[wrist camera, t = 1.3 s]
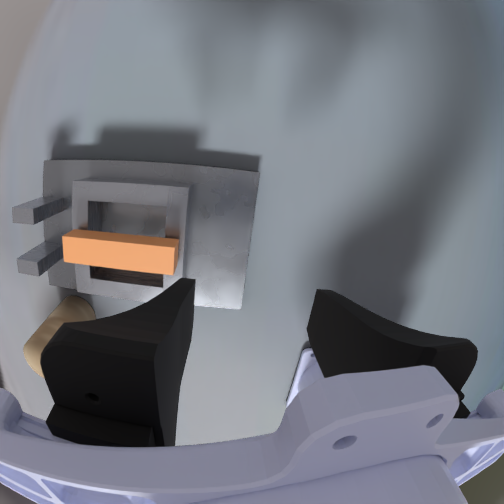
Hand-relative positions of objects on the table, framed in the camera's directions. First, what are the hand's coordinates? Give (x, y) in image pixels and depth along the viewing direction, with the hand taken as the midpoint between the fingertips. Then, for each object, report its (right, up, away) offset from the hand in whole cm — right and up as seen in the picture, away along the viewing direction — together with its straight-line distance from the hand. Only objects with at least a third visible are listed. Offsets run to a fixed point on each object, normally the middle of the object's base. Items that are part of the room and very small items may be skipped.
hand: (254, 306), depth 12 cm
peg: (-15, -3, +10) cm, 18 cm away
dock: (-8, +4, +8) cm, 12 cm away
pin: (-8, +3, +4) cm, 9 cm away
